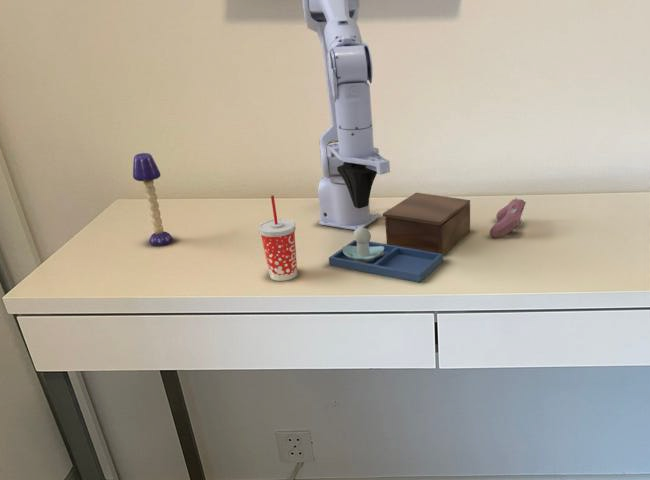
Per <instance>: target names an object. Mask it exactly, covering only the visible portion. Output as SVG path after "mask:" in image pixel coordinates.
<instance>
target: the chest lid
mask: <svg viewBox="0 0 650 480" xmlns="http://www.w3.org/2000/svg"><path fill="white" fill-rule="evenodd" d="M469 203H470V204H471V200H470V199H465V198H458V197H452V196H444V195H436V194H429V193H422V192H415V193H413V194H411V195H409V196H408V197H407V198H405V199H404V200H402V201H400V202H399V203H397V204H395V205H394V206H392V207H391V208H389V209H387V210H386V211H384V212H383V213H382V217H384V218H385V217H389V218H395V219H402V220H408V221H415V222H421V223H428V224H434V225H441V224H443V223H444V222H445V221H447V220H448V219H449V218H451V217H452V216H453V215H455V214H456V213H457V212H459V211H460V210H461V209H463V208H464V207H465V206H467V205H468V204H469Z"/></svg>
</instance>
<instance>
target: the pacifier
mask: <svg viewBox="0 0 650 480" xmlns="http://www.w3.org/2000/svg"><path fill="white" fill-rule="evenodd" d="M371 238H372V234H371V232H370V231H369V230H368V229H367V228H366V227H365V228H357V229H356V230H353V239H354V240H355V241H356V242H357V246H346V245H345V246H343V247H341V249H342V250H343V253H344V254H345V255H346V256H347V257H349V258H351V259H354V260H355V261H358V262H363V263H365V262H371V261H373V260H375V258H378V257H380V256H382V255H383V254H384V253H383V251H384V247H383V246H375V247H369V241H370V242H371Z"/></svg>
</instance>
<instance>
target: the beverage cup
mask: <svg viewBox="0 0 650 480" xmlns="http://www.w3.org/2000/svg"><path fill="white" fill-rule="evenodd" d="M270 200H271V206H272V214H273V219H268V220H265V221H262V222H260V223H259V224H258V225H257V230H258V233H259V235H260V238H261V242H262V247H263V251H264V256H265V260H266V264H267V268H268V273H269V277H270V279H271V280H273V281H276V282H277V281H278V282H281V281H282V282H283V281H290V280H292V279H294V278H296V277H297V276H298V264H297V249H296V248H297V247H296V246H297V245H296V234H295V231H296V229H297V228H296V222H295V221H294V220H291V219H287V218H278V215H277V208H276V202H275V201H276V200H275V195H270Z"/></svg>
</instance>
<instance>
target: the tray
mask: <svg viewBox="0 0 650 480" xmlns="http://www.w3.org/2000/svg"><path fill="white" fill-rule="evenodd" d="M345 246H357V242H356V241H355V239H354V240H352V241H351V242H349V243H348V244H347V245H345ZM375 246H383V247H384V251H383V253H384V254H383V255H382V256H380V257H378V258H375V260H373V261H371V262H365V263H363V262H358V261H355V260H354V259H351V258H349V257H347V256H346V255H345V254H344V253H343V250H342V248H341V249H339V250H338V251H336V252H335V253H334V254H332V255H330V256H329V257H328V266H330V267H335V268H341V269H346V270H351V271H357V272H362V273H367V274H372V275H378V276H383V277H388V278H394V279H399V280H404V281H410V282H415V283H421V282H422V281H424V280H425V279H426V278H427V277H428V276H429V275H431V274H432V272H435V270H436V269H437V268H438V267H439V266H441V265H442V264H443V263H444V255H443V254H440V253H434V252H428V251H423V250H417V249H411V248H405V247H399V246H393V245H388V244H387V243H382V242H376V241H375V242H374V241H371V240H370V241H369V247H375Z"/></svg>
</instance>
